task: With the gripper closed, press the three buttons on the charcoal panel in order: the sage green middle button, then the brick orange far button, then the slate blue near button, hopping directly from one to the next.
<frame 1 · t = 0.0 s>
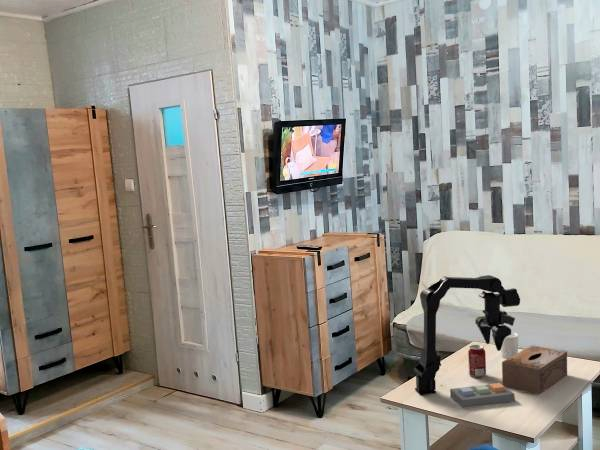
hand: (493, 347, 237), 15 cm above the table, tool pointing down, fingers open, 9 cm apart
blue button: (466, 393, 222), point 3 cm above the table, slide at 0.0 cm
soda can: (477, 375, 248), on the table
orange button: (496, 389, 224), point 3 cm above the table, slide at 0.0 cm
tissue box cover: (535, 381, 239), on the table
white cup: (509, 357, 268), on the table
green button: (481, 391, 223), point 3 cm above the table, slide at 0.0 cm
button panel: (481, 399, 224), on the table
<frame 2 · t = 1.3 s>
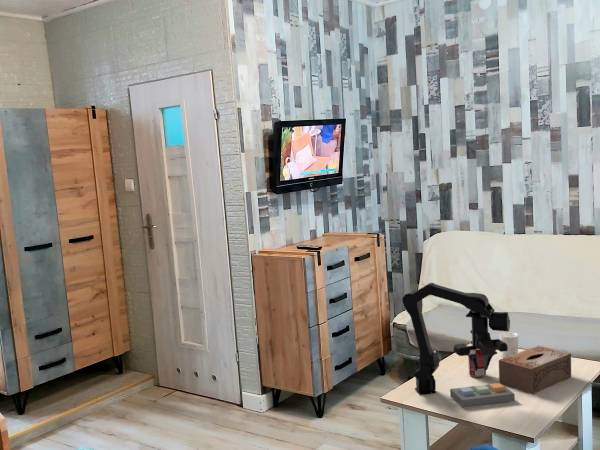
hand: (481, 370, 223), 11 cm above the table, tool pointing down, fingers open, 4 cm apart
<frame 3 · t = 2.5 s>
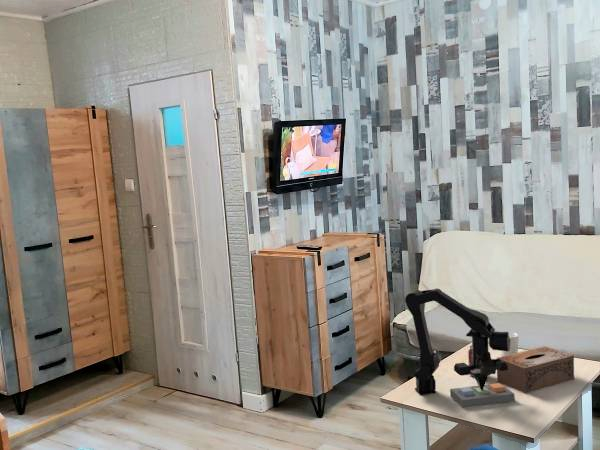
hand: (481, 389, 223), 4 cm above the table, tool pointing down, fingers closed, pressing on green button
green button: (481, 393, 223), point 2 cm above the table, slide at 0.8 cm, touching gripper
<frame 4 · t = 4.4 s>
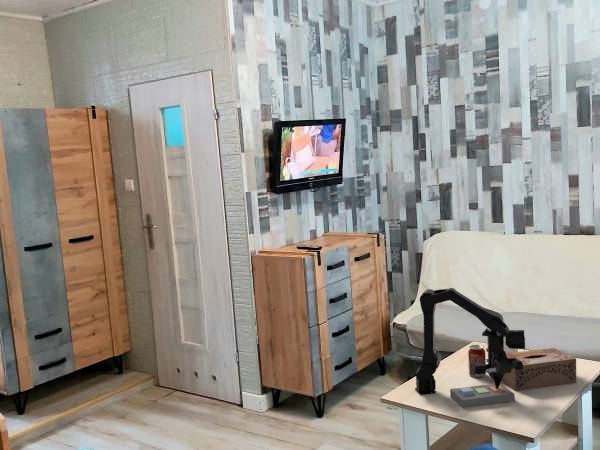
hand: (496, 388, 224), 3 cm above the table, tool pointing down, fingers closed, pressing on orange button
orange button: (497, 392, 224), point 2 cm above the table, slide at 1.0 cm, touching gripper
green button: (481, 394, 223), point 2 cm above the table, slide at 1.1 cm
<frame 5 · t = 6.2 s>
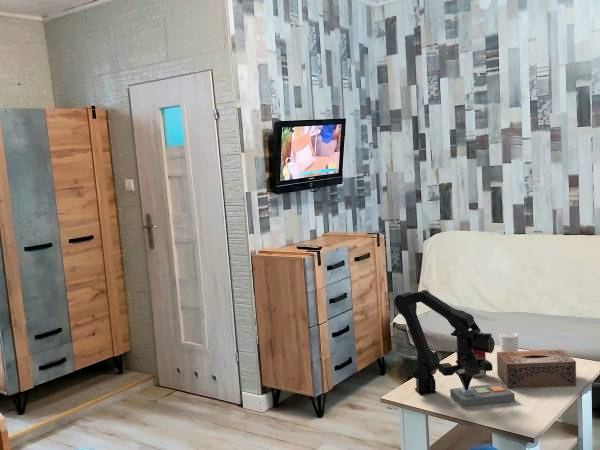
hand: (466, 389, 222), 4 cm above the table, tool pointing down, fingers closed, pressing on blue button
blue button: (466, 393, 222), point 3 cm above the table, slide at 0.2 cm, touching gripper
orange button: (497, 392, 224), point 2 cm above the table, slide at 1.1 cm
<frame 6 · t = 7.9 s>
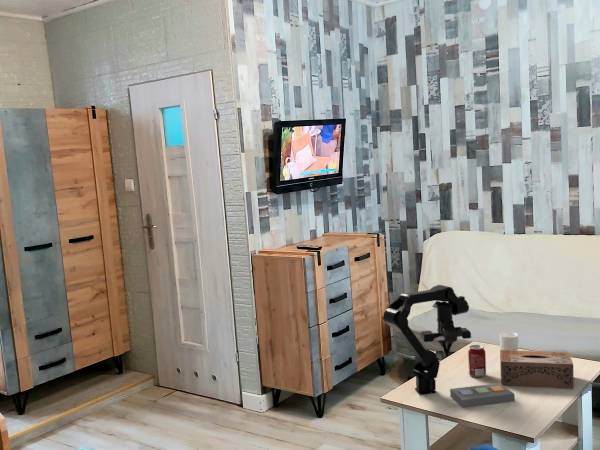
hand: (446, 355, 238), 12 cm above the table, tool pointing down, fingers closed
blue button: (466, 395, 223), point 2 cm above the table, slide at 1.1 cm
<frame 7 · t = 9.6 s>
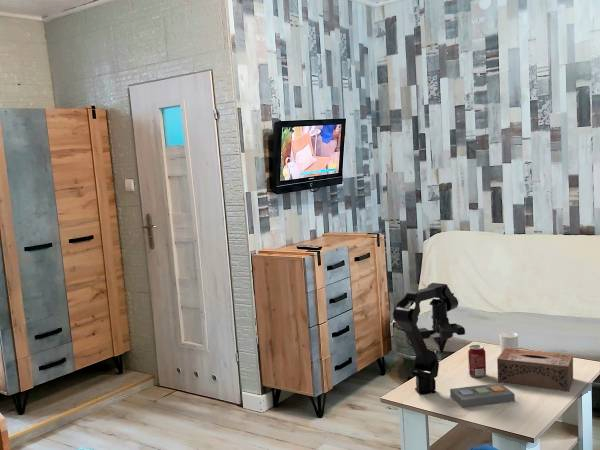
hand: (441, 352, 242), 12 cm above the table, tool pointing down, fingers closed
at the end: green button slide at 1.1 cm; orange button slide at 1.1 cm; blue button slide at 1.1 cm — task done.
